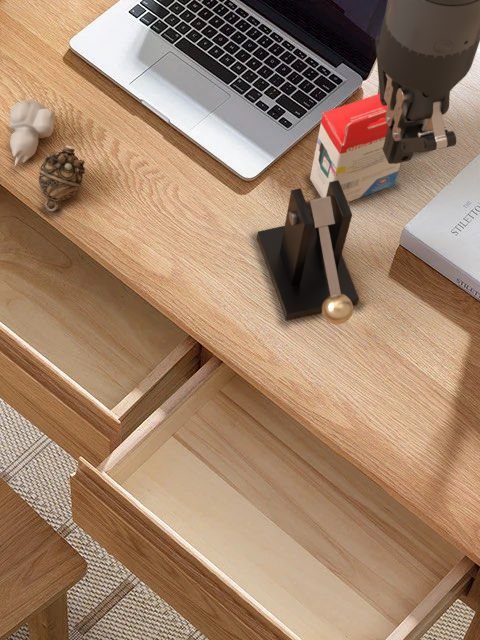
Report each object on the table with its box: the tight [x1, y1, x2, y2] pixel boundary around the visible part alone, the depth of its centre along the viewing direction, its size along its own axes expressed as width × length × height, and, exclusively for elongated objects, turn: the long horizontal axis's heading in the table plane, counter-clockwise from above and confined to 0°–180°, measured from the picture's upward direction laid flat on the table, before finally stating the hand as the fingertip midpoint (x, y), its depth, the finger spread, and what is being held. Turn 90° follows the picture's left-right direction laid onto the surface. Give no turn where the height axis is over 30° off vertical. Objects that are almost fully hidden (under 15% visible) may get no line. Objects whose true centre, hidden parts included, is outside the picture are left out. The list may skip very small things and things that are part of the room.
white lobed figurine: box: [9, 99, 55, 167], centre depth 143 cm, size 5×7×8 cm
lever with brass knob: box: [305, 196, 354, 325], centre depth 127 cm, size 13×3×3 cm
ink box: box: [309, 93, 402, 203], centre depth 134 cm, size 8×5×15 cm, turn 111°
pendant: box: [38, 145, 86, 213], centre depth 140 cm, size 5×8×5 cm
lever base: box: [256, 180, 360, 321], centre depth 130 cm, size 11×8×13 cm
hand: (396, 155), depth 110 cm, fingers closed
